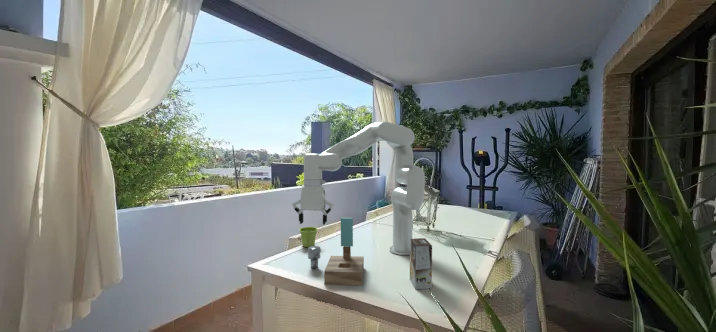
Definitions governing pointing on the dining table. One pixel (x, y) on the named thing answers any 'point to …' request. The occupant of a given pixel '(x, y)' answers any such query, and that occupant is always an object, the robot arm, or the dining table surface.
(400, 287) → the dining table surface
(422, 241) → the coffee box
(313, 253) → the pin
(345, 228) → the teal flat block
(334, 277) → the block
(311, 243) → the plant pot
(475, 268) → the dining table surface
